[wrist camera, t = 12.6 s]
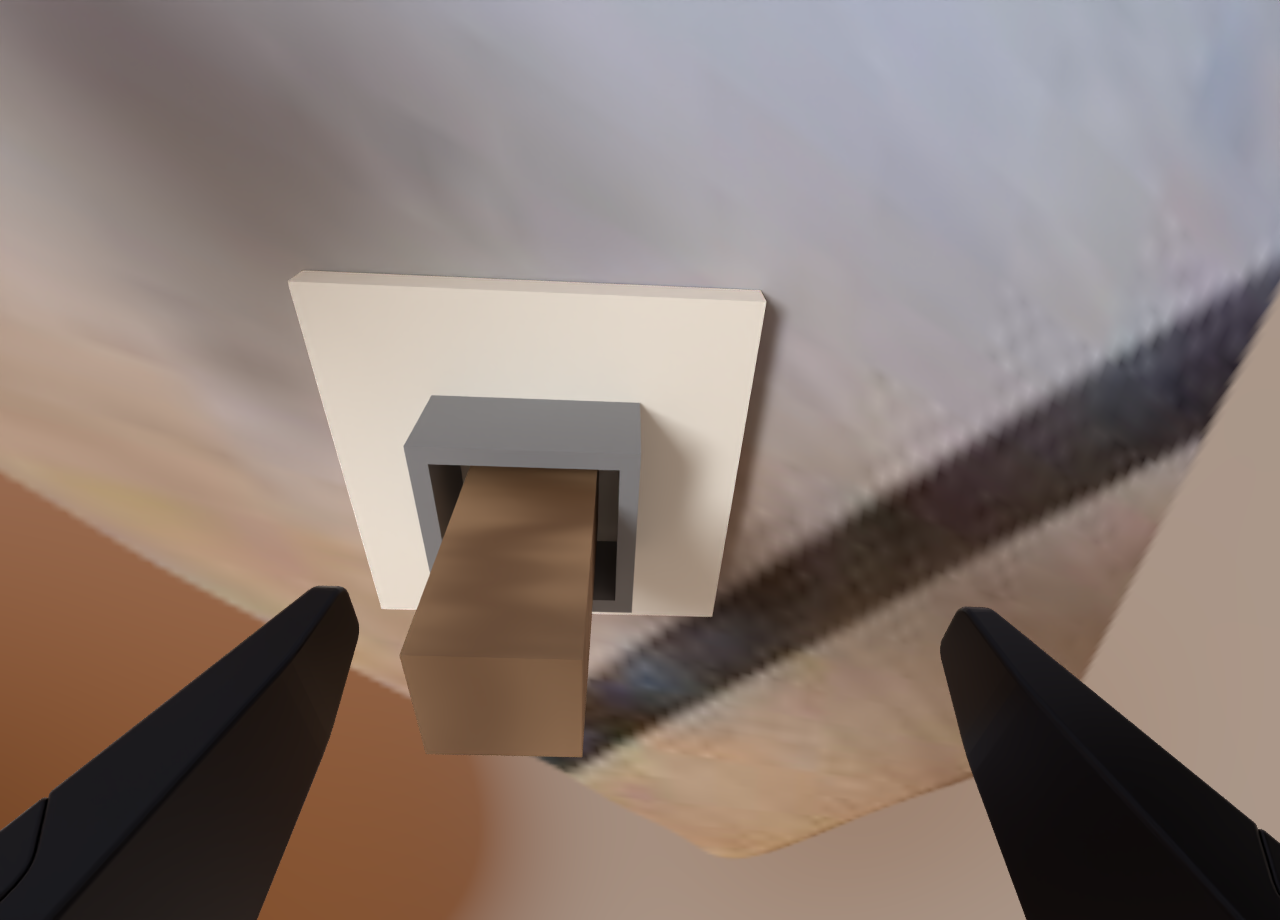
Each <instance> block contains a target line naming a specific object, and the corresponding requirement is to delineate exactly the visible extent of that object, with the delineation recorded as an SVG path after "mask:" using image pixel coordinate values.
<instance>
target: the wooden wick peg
mask: <svg viewBox="0 0 1280 920" xmlns="http://www.w3.org/2000/svg"><path fill="white" fill-rule="evenodd" d="M598 498H599V470H592V469H561V468H530V467H499V466H470V468H469V470H468V473H467V476H466V478H465V481H464V484H463V486H462V489H461V492H460V494H459V497H458V500H457V502H456V505H455V508H454V510H453V513H452V516H451V519H450V521H449V524H448V527H447V529H446V532H445V535H444V537H443V540H442V543H441V545H440V548H439V551H438V553H437V556H436V559H435V561H434V564H433V567H432V569H431V572H430V575H429V578H428V580H427V583H426V586H425V588H424V591H423V594H422V596H421V599H420V602H419V604H418V607H417V610H416V612H415V615H414V618H413V620H412V623H411V626H410V628H409V631H408V634H407V637H406V639H405V642H404V645H403V647H402V650H401V653H400V659H401V663H402V666H403V670H404V674H405V678H406V681H407V685H408V689H409V692H410V696H411V700H412V704H413V707H414V711H415V715H416V718H417V722H418V726H419V730H420V733H421V737H422V741H423V744H424V748H425V752H426V754H452V755H504V756H555V757H582V751H583V737H584V722H585V707H586V693H587V678H588V664H589V649H590V634H591V620H592V605H593V591H594V576H595V561H596V547H597V532H598Z"/></svg>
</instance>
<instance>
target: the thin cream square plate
mask: <svg viewBox="0 0 1280 920" xmlns="http://www.w3.org/2000/svg"><path fill="white" fill-rule="evenodd" d="M288 285H289V288H290V292H291V295H292V299H293V302H294V306H295V309H296V313H297V316H298V320H299V323H300V327H301V330H302V334H303V337H304V341H305V344H306V348H307V351H308V354H309V358H310V361H311V365H312V368H313V372H314V375H315V379H316V382H317V386H318V389H319V393H320V396H321V400H322V403H323V407H324V410H325V414H326V417H327V421H328V424H329V427H330V431H331V434H332V438H333V441H334V445H335V448H336V452H337V455H338V459H339V462H340V466H341V469H342V473H343V476H344V480H345V483H346V487H347V490H348V494H349V497H350V500H351V504H352V507H353V511H354V514H355V518H356V521H357V525H358V528H359V532H360V535H361V539H362V542H363V546H364V549H365V553H366V556H367V560H368V563H369V567H370V570H371V573H372V577H373V580H374V584H375V587H376V591H377V594H378V598H379V601H380V605H381V608H382V609H404V610H417V607H418V604H419V602H420V599H421V596H422V594H423V591H424V588H425V586H426V583H427V580H428V578H429V575H430V572H431V569H432V567H433V564H434V561H435V559H436V556H437V553H438V551H439V548H440V545H441V543H442V540H443V537H444V535H445V532H446V529H447V527H448V524H449V521H450V519H451V516H452V513H453V510H454V508H455V505H456V502H457V500H458V497H459V494H460V492H461V489H462V486H463V484H464V481H465V478H466V476H467V473H468V470H469V468H470V466H499V467H530V468H561V469H592V470H599V498H598V532H597V547H596V561H595V576H594V591H593V605H592V614H616V615H658V616H701V617H712V614H713V609H714V603H715V597H716V591H717V585H718V580H719V574H720V568H721V562H722V556H723V551H724V545H725V539H726V533H727V527H728V522H729V516H730V510H731V504H732V498H733V493H734V487H735V481H736V475H737V469H738V464H739V458H740V452H741V446H742V441H743V435H744V429H745V423H746V417H747V412H748V406H749V400H750V394H751V388H752V383H753V377H754V371H755V365H756V359H757V354H758V348H759V342H760V336H761V330H762V325H763V319H764V313H765V307H766V300H765V298H764V296H763V294H762V292H761V290H742V289H719V288H696V287H673V286H650V285H627V284H604V283H581V282H558V281H535V280H512V279H489V278H466V277H443V276H420V275H397V274H374V273H351V272H328V271H305V270H303V271H301V272H300V273H298V274H297V275H296V276H294V277H293V278H292V279H290V280H289V281H288Z"/></svg>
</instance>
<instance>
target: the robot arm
mask: <svg viewBox="0 0 1280 920" xmlns="http://www.w3.org/2000/svg"><path fill="white" fill-rule="evenodd" d="M358 636H359V623H358V620H357V617H356V614H355V611H354V608H353V605H352V603H351V600H350V597H349V594H348V592H347V590H346V589H345V588H343V587H340V586H316V587H313V588H311V589H310V590H308V591H307V592H306V593H304V594H303V595H302V596H300V597H299V598H298V599H297V600H295V601H294V602H293V603H292V604H290V605H289V606H288V607H286V608H285V609H284V610H283V611H281V612H280V613H279V614H277V615H276V616H275V617H274V618H272V619H271V620H270V621H268V622H267V623H266V624H265V625H263V626H262V627H261V628H260V629H258V630H257V631H256V632H254V633H253V634H252V635H251V636H249V637H248V638H247V639H246V640H244V641H243V642H242V643H240V644H239V645H238V646H237V647H235V648H234V649H233V650H231V651H230V652H229V653H228V654H226V655H225V656H224V657H223V658H221V659H220V660H219V661H217V662H216V663H215V664H214V665H212V666H211V667H210V668H208V669H207V670H206V671H205V672H203V673H202V674H201V675H199V676H198V677H197V678H196V679H194V680H193V681H192V682H190V683H189V684H188V685H187V686H185V687H184V688H183V689H182V690H180V691H179V692H178V693H177V694H175V695H174V696H173V697H171V698H170V699H169V700H168V701H166V702H165V703H164V704H162V705H161V706H160V707H158V709H156V710H155V711H153V712H152V713H151V714H150V715H148V716H147V717H146V718H144V719H143V720H142V721H141V722H139V723H138V724H137V725H136V726H134V727H133V728H132V729H130V730H129V731H128V732H127V733H125V734H124V735H123V736H121V737H120V738H119V739H118V740H116V741H115V742H114V743H112V744H111V745H110V746H109V747H107V748H106V749H105V750H104V751H102V752H101V753H100V754H98V755H97V756H96V757H95V758H93V759H92V760H91V761H89V762H88V763H87V764H86V765H84V766H83V767H82V768H80V769H79V770H78V771H77V772H75V773H74V774H73V775H72V776H70V777H69V778H68V779H66V780H65V781H64V782H63V783H61V784H60V785H59V786H57V787H56V788H55V789H54V790H52V791H51V793H50V794H49V797H48V798H42V799H41V800H39V801H38V802H37V803H35V804H34V805H33V806H31V807H30V808H29V809H28V810H26V811H25V812H24V813H23V814H21V815H20V816H19V817H18V818H17V819H15V820H14V821H12V822H11V823H10V824H9V825H7V826H6V827H5V828H3V829H2V830H1V831H0V920H257V918H258V916H259V913H260V910H261V908H262V906H263V903H264V901H265V898H266V896H267V893H268V891H269V888H270V886H271V883H272V881H273V878H274V876H275V873H276V871H277V868H278V866H279V863H280V861H281V859H282V856H283V854H284V851H285V849H286V846H287V844H288V841H289V839H290V836H291V834H292V831H293V829H294V826H295V824H296V821H297V819H298V816H299V814H300V811H301V809H302V806H303V804H304V801H305V799H306V797H307V794H308V792H309V789H310V787H311V784H312V782H313V779H314V777H315V774H316V772H317V769H318V766H319V764H320V762H321V759H322V757H323V754H324V752H325V749H326V746H327V743H328V741H329V738H330V735H331V731H332V728H333V725H334V722H335V718H336V715H337V711H338V708H339V704H340V701H341V697H342V694H343V690H344V686H345V683H346V679H347V675H348V672H349V669H350V665H351V662H352V658H353V655H354V651H355V647H356V644H357V640H358ZM940 654H941V660H942V664H943V668H944V672H945V675H946V679H947V683H948V687H949V691H950V695H951V699H952V703H953V707H954V711H955V715H956V719H957V723H958V726H959V730H960V734H961V738H962V742H963V745H964V749H965V752H966V756H967V759H968V762H969V765H970V768H971V771H972V774H973V776H974V779H975V782H976V784H977V787H978V790H979V793H980V795H981V798H982V801H983V803H984V806H985V809H986V811H987V814H988V817H989V820H990V822H991V825H992V828H993V830H994V833H995V836H996V839H997V841H998V844H999V847H1000V849H1001V852H1002V855H1003V857H1004V860H1005V863H1006V866H1007V868H1008V871H1009V874H1010V877H1011V879H1012V882H1013V885H1014V887H1015V890H1016V893H1017V895H1018V898H1019V901H1020V904H1021V906H1022V909H1023V911H1024V914H1025V917H1026V920H1280V843H1279V842H1278V841H1277V840H1275V839H1274V838H1273V837H1272V836H1271V835H1269V834H1268V833H1267V832H1266V831H1264V830H1262V829H1258V828H1257V825H1256V824H1255V823H1254V822H1253V821H1252V820H1251V819H1249V818H1248V817H1247V816H1246V815H1244V814H1243V813H1242V812H1240V810H1238V809H1237V808H1236V807H1234V806H1233V805H1232V804H1231V803H1230V802H1228V801H1227V800H1226V799H1225V798H1224V797H1222V796H1221V795H1220V794H1219V793H1217V792H1216V791H1215V790H1214V789H1212V788H1211V787H1210V786H1209V785H1208V784H1206V783H1205V782H1204V781H1203V780H1201V779H1200V778H1199V777H1198V776H1197V775H1195V774H1194V773H1193V772H1192V771H1190V770H1189V769H1188V768H1187V767H1185V766H1184V765H1183V764H1182V763H1181V762H1179V761H1178V760H1177V759H1176V758H1174V757H1173V756H1172V755H1171V754H1169V753H1168V752H1167V751H1166V750H1164V749H1163V748H1162V747H1161V746H1160V745H1158V744H1157V743H1156V742H1155V741H1154V740H1152V739H1151V738H1150V737H1149V736H1147V735H1146V734H1145V733H1144V732H1142V731H1141V730H1140V729H1139V728H1137V727H1136V726H1135V725H1134V724H1133V723H1131V722H1130V721H1128V719H1126V718H1125V717H1124V716H1123V715H1121V714H1120V713H1119V712H1118V711H1117V710H1115V709H1114V708H1113V707H1112V706H1110V705H1109V704H1108V703H1107V702H1106V701H1104V700H1103V699H1102V698H1101V697H1099V696H1098V695H1097V694H1096V693H1095V692H1093V691H1092V690H1091V689H1090V688H1088V687H1087V686H1086V685H1085V684H1083V683H1082V682H1081V681H1080V680H1079V679H1077V678H1076V677H1075V676H1074V675H1072V674H1071V673H1070V672H1069V671H1068V670H1066V669H1065V668H1064V667H1063V666H1061V665H1060V664H1059V663H1058V662H1056V661H1055V660H1054V659H1053V658H1052V657H1050V656H1049V655H1048V654H1047V653H1045V652H1044V651H1043V650H1042V649H1040V648H1039V647H1038V646H1037V645H1036V644H1034V643H1033V642H1032V641H1031V640H1029V639H1028V638H1027V637H1026V636H1025V635H1023V634H1022V633H1021V632H1020V631H1018V630H1017V629H1016V628H1015V627H1013V626H1012V625H1011V624H1010V623H1009V622H1007V621H1006V620H1005V619H1004V618H1002V617H1001V616H1000V615H999V614H997V613H996V612H995V611H993V610H991V609H989V608H984V607H962V608H960V609H959V610H958V611H957V612H956V614H955V616H954V618H953V619H952V621H951V623H950V625H949V627H948V629H947V631H946V633H945V635H944V637H943V639H942V641H941V646H940Z"/></svg>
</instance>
